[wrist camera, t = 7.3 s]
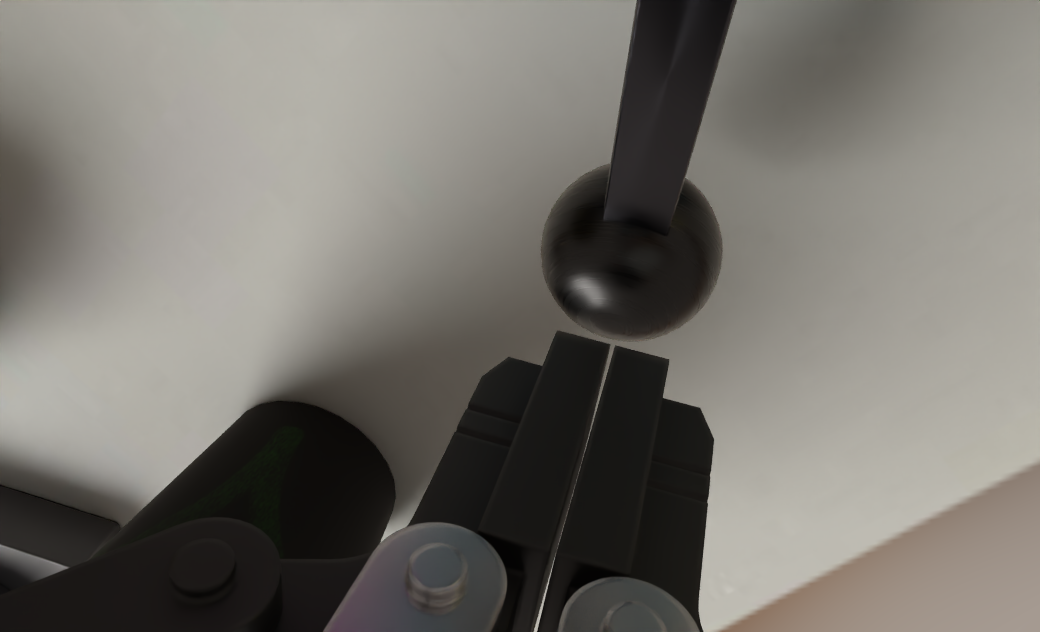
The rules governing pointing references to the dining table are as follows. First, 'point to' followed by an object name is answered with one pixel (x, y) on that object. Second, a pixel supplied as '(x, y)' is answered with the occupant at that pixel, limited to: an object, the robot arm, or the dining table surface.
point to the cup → (282, 485)
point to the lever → (645, 188)
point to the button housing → (44, 538)
